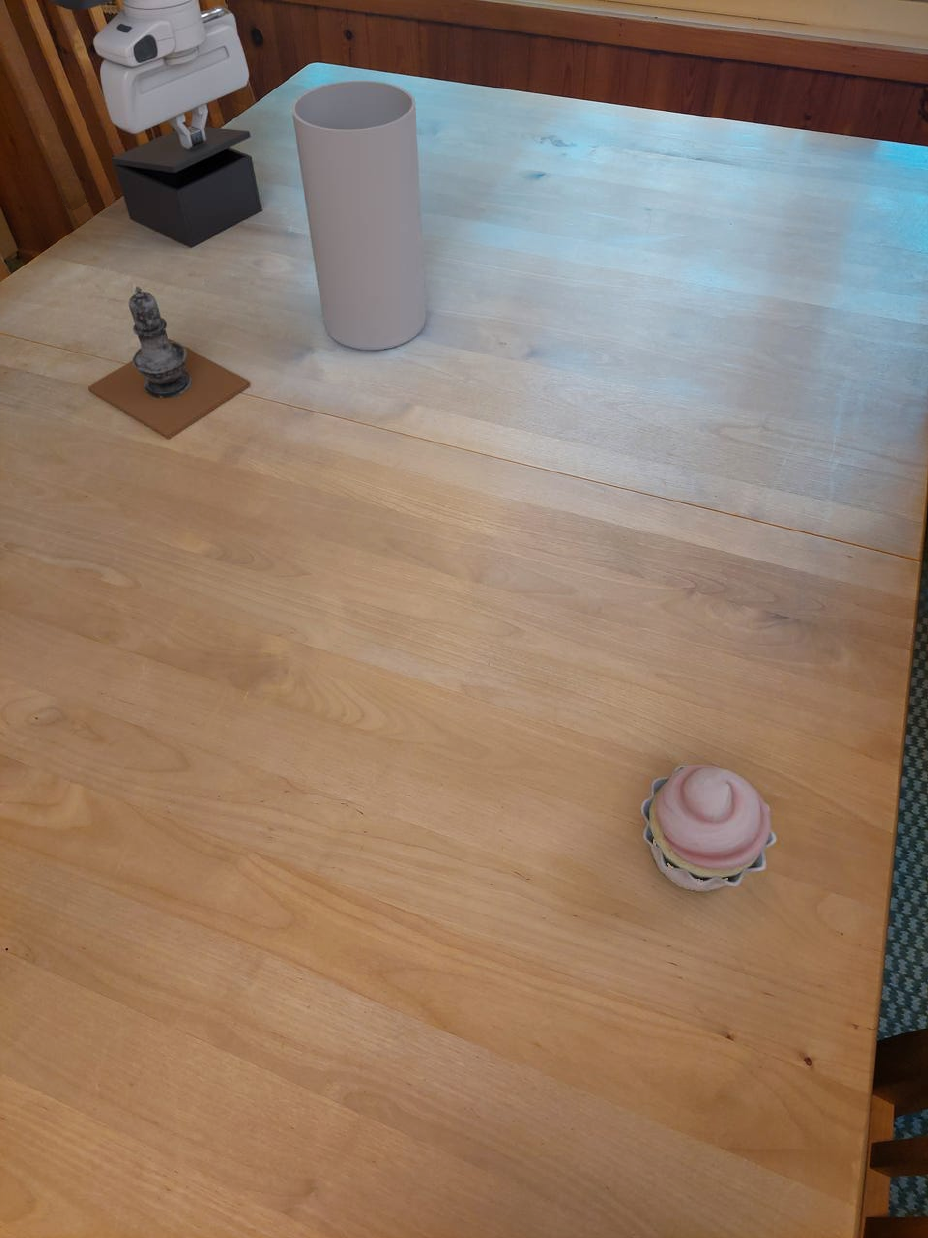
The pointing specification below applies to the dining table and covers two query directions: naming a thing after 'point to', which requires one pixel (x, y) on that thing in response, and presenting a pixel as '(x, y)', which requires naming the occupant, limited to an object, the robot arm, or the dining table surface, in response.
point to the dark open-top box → (192, 196)
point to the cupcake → (707, 827)
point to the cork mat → (174, 412)
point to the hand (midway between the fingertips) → (194, 144)
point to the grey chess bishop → (157, 350)
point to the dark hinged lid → (179, 150)
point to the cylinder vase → (363, 210)
